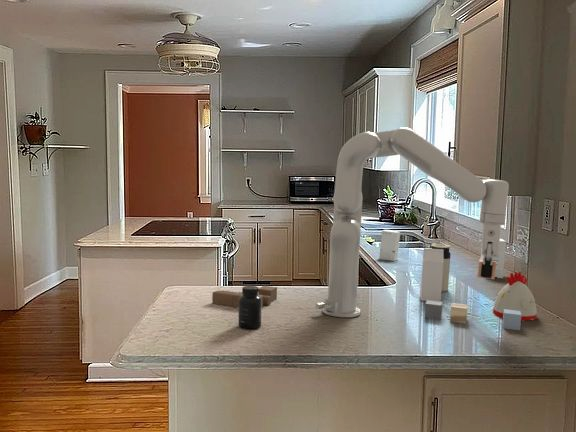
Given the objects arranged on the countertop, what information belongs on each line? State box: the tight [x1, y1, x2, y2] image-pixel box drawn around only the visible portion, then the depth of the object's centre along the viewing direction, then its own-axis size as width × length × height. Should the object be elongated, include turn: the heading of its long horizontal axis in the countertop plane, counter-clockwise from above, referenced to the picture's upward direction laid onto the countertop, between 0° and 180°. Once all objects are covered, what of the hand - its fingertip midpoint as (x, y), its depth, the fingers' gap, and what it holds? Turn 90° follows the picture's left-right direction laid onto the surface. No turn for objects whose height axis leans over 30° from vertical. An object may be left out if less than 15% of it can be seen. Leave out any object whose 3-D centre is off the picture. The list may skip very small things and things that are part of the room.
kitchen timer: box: [492, 271, 538, 322], centre depth 197 cm, size 14×14×15 cm
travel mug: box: [430, 243, 451, 293], centre depth 231 cm, size 8×8×18 cm
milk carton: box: [419, 247, 444, 302], centre depth 214 cm, size 7×7×19 cm
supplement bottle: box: [237, 285, 263, 331], centre depth 172 cm, size 7×7×12 cm
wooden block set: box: [211, 285, 278, 309], centre depth 201 cm, size 17×6×18 cm
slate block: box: [502, 309, 522, 331], centre depth 183 cm, size 5×5×5 cm
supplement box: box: [480, 238, 507, 279], centre depth 263 cm, size 10×9×17 cm
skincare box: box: [379, 229, 401, 262], centre depth 294 cm, size 8×6×15 cm
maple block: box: [449, 302, 469, 324], centre depth 188 cm, size 5×5×5 cm
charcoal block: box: [424, 300, 443, 321], centre depth 191 cm, size 5×5×5 cm
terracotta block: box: [477, 258, 496, 280], centre depth 184 cm, size 5×5×5 cm
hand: (486, 275), depth 184 cm, fingers closed on terracotta block, 4 cm apart
